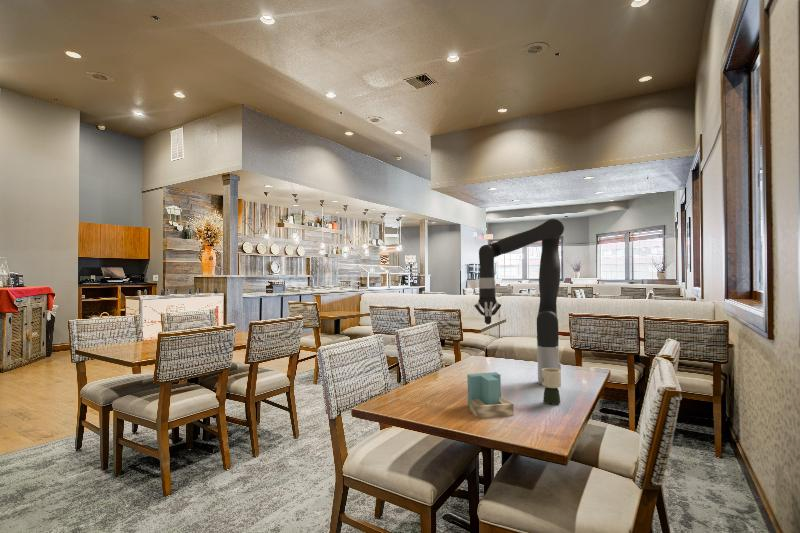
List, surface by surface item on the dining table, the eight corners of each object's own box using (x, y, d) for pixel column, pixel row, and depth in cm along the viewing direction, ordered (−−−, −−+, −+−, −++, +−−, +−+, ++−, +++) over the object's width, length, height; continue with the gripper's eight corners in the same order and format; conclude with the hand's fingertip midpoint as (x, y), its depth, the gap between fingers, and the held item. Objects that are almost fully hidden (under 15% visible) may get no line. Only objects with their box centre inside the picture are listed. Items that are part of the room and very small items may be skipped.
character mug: (546, 398, 172) (545, 366, 172) (564, 400, 168) (564, 368, 168) (538, 405, 163) (537, 371, 163) (557, 408, 159) (556, 373, 159)
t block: (496, 402, 168) (496, 372, 168) (509, 411, 157) (508, 379, 157) (468, 405, 165) (467, 374, 165) (478, 414, 155) (478, 381, 155)
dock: (504, 407, 161) (503, 397, 161) (513, 415, 153) (513, 404, 153) (470, 410, 159) (469, 399, 159) (477, 418, 151) (477, 406, 151)
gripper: (498, 286, 203) (499, 322, 203) (471, 287, 203) (472, 323, 203) (503, 287, 196) (504, 324, 196) (475, 288, 195) (475, 325, 195)
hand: (487, 324), depth 199 cm, fingers closed
